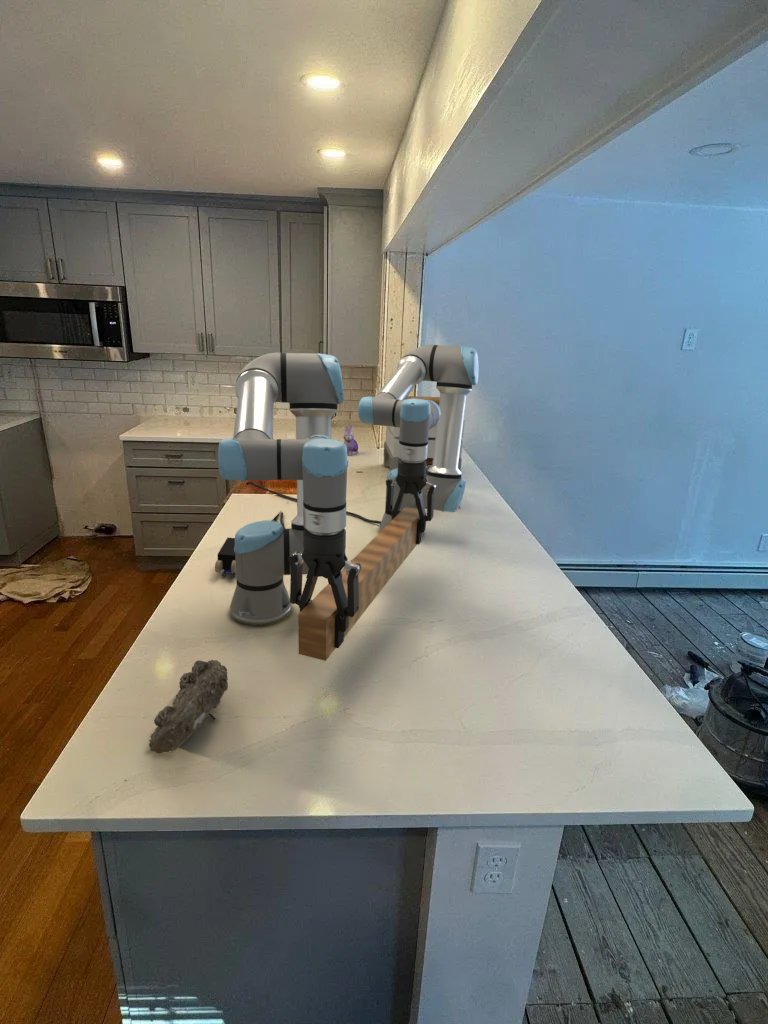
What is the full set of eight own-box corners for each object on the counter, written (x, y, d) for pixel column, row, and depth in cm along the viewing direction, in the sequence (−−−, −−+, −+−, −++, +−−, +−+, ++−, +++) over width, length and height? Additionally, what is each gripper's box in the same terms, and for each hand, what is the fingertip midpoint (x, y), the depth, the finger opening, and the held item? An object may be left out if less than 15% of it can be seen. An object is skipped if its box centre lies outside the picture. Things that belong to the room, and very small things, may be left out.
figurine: (346, 456, 299) (346, 428, 294) (338, 451, 308) (338, 424, 302) (362, 454, 303) (363, 427, 298) (354, 450, 312) (354, 423, 307)
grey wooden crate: (382, 463, 289) (386, 382, 275) (445, 464, 293) (451, 384, 279) (390, 482, 257) (394, 392, 243) (460, 483, 261) (468, 394, 247)
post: (403, 534, 162) (405, 506, 159) (422, 537, 160) (424, 509, 157) (298, 654, 104) (298, 613, 102) (325, 661, 103) (326, 620, 100)
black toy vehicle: (238, 584, 162) (249, 557, 175) (236, 562, 158) (247, 536, 172) (215, 584, 161) (227, 556, 175) (212, 561, 158) (225, 535, 171)
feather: (288, 505, 226) (290, 501, 226) (271, 529, 199) (273, 524, 199) (284, 503, 226) (287, 499, 225) (266, 526, 199) (269, 522, 199)
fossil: (177, 661, 117) (228, 629, 112) (210, 691, 120) (261, 661, 115) (124, 747, 97) (183, 713, 92) (164, 781, 100) (223, 749, 95)
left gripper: (267, 526, 99) (270, 640, 107) (366, 545, 94) (362, 662, 102) (287, 513, 106) (289, 620, 114) (381, 529, 100) (376, 641, 109)
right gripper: (374, 458, 148) (371, 540, 156) (443, 467, 142) (436, 551, 150) (383, 451, 154) (380, 530, 163) (450, 460, 149) (443, 541, 157)
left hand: (324, 640), depth 108 cm, fingers closed on post, 6 cm apart
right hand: (407, 540), depth 156 cm, fingers closed on post, 6 cm apart
